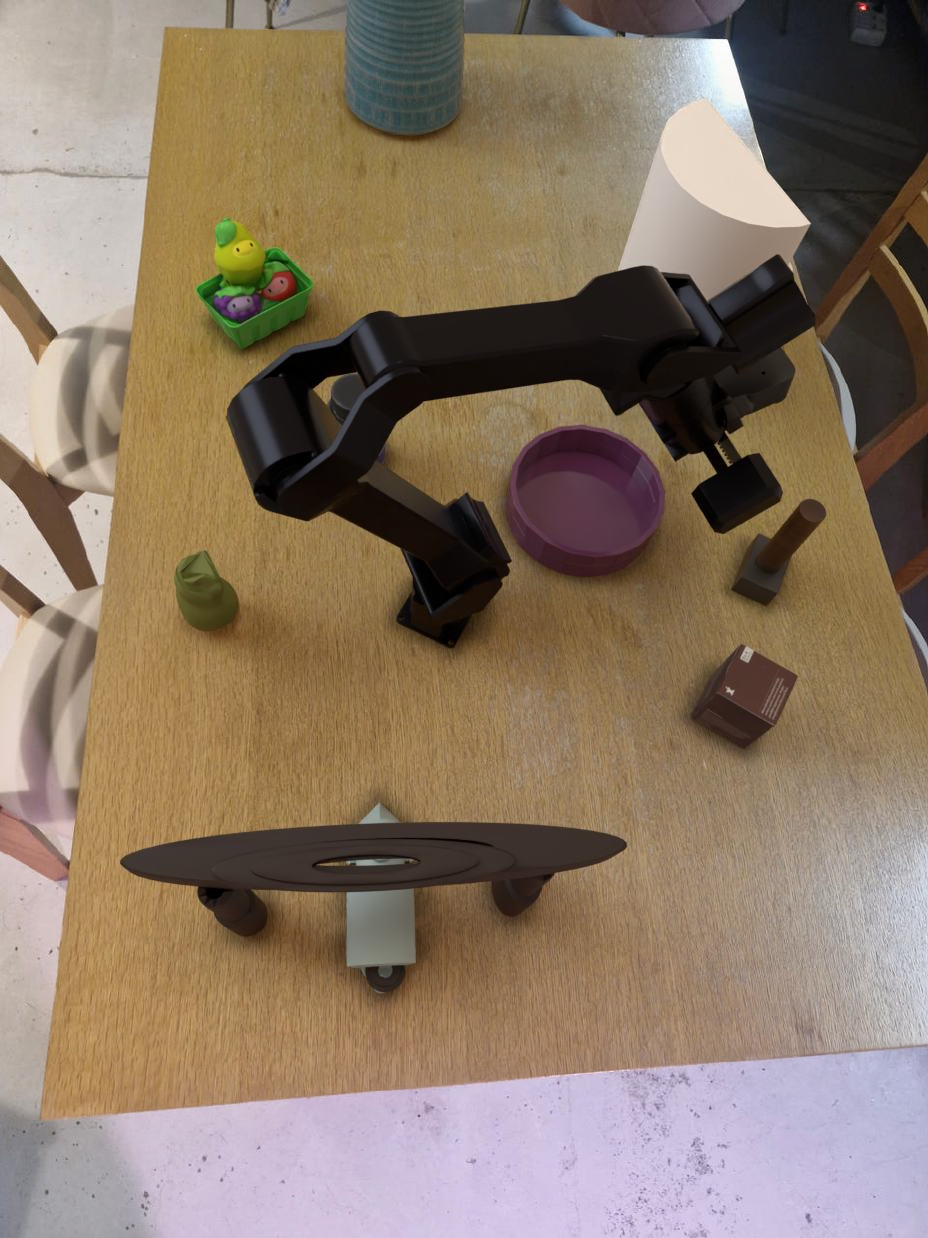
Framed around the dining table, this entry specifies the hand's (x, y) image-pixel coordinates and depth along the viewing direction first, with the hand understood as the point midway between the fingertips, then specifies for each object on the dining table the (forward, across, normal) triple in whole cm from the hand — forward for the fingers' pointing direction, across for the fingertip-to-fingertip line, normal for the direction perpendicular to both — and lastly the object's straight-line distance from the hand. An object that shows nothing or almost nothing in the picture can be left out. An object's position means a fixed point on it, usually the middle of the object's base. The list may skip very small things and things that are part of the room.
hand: (712, 460), depth 79 cm
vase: (+10, +75, +10) cm, 76 cm away
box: (+9, -20, +11) cm, 24 cm away
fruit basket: (-7, +43, +35) cm, 56 cm away
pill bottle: (-4, +20, +31) cm, 37 cm away
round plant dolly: (-12, -24, +42) cm, 50 cm away
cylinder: (+19, +24, -4) cm, 31 cm away
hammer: (+15, -8, +2) cm, 17 cm away
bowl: (+7, +6, +14) cm, 17 cm away
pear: (-15, +7, +47) cm, 50 cm away
